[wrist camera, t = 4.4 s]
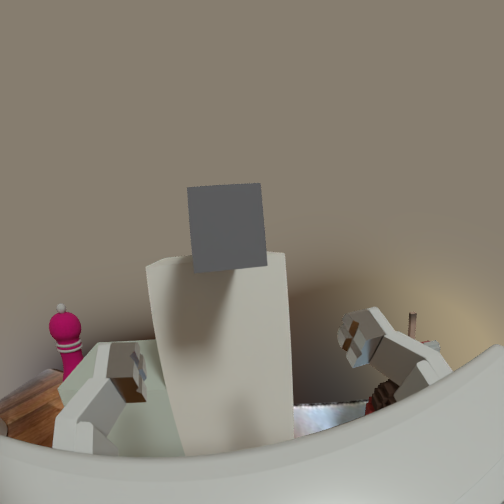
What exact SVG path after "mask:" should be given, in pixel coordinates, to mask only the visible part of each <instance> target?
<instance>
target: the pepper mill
mask: <svg viewBox="0 0 504 504" xmlns="http://www.w3.org/2000/svg"><path fill="white" fill-rule="evenodd" d="M65 311H66V307H65V305H64V304H62V303H60V304H58V305H57V312H58V313H57V314H55V315H54V316H53V317H52V318H51V320H50V323H49V330H50V334H51V335H52V337H53V338H54V339H55V340H56V341H57V342H56V346H57V350H58V351H59V352H60V354H61V357H62V360H63V366H64V374H63V382H64V381H65V379H66V378H67V377H68V376H69V375H70V374H71V372H72V371H73V370H74V369H75V368H76V367H77V365H78V364H79V363H80V362H81V361H82V360H83V359H84V358H83V356H82V351H81V348H82V343H81V339H80V338H79V335H80V333H81V324H80V322H79V319H78V318H77V317H76V316H75V315H74V314H72V313H69V312H65Z"/></svg>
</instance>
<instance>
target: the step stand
mask: <svg viewBox="0 0 504 504" xmlns="http://www.w3.org/2000/svg"><path fill="white" fill-rule="evenodd" d="M266 252H267V251H266ZM267 264H268V266H262V267H253V268H244V269H234V270H224V271H215V272H205V273H195V274H194V267H193V257H192V255H191V256H181V257H170V258H163V259H161V260H159V261H157V262H154V263H153V264H150V265H148V266H146V275H147V283H148V291H149V298H150V305H151V312H152V318H153V324H154V330H155V336H156V340H141V341H123V342H138V344H139V346H140V353H141V354H142V355H143V356H144V359H145V363H146V369H147V378H146V380H145V381H144V383H145V385H146V387H147V402H142V403H126V406H125V408H124V409H123V411H122V413H121V414H120V416H119V418H118V419H117V421H116V423H115V424H114V426H113V428H112V429H111V431H110V433H109V434H108V436H107V439H109V440H110V441H111V442H112V443H113V444H114V445H115V446H116V447H117V448H118V455H119V456H122V457H178V456H193V455H205V454H214V453H222V452H230V451H236V450H243V449H248V448H254V447H259V446H264V445H269V444H274V443H278V442H283V441H287V440H291V439H294V417H293V387H292V362H291V342H290V324H289V306H288V292H287V277H286V264H285V254H284V253H276V252H267ZM100 343H112V342H100ZM100 343H99V342H98V343H97V344H96V345H95V346H94V347H93V349H92V350H91V351H90V352H89V353H88V354H87V355H86V357H85V358H84V359H83V360H82V361H81V362H80V363H79V364H78V365H77V367H76V368H75V369H74V370H73V371H72V372H71V374H70V375H69V376H68V377H67V378H66V379H65V381H64V382H63V383H62V384H61V385H60V386H59V388H58V391H59V394H60V397H61V400H62V402H63V405H64V407H65V406H66V405H67V404H68V402H69V401H70V400H71V399H72V398H73V396H74V395H75V394H76V393H77V392H78V391H79V389H80V388H81V387H82V386H83V385H84V384H85V382H86V381H87V380H88V379H89V378H93V372H94V366H95V360H96V354H97V348H98V345H99V344H100Z"/></svg>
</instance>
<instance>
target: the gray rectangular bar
mask: <svg viewBox="0 0 504 504" xmlns="http://www.w3.org/2000/svg"><path fill="white" fill-rule="evenodd" d="M187 191H188V192H187V193H188V208H189V222H190V233H191V234H190V235H191V246H192V257H193V267H194V274H195V273H205V272H215V271H224V270H234V269H244V268H253V267H262V266H268V264H267V252H266V241H265V230H264V229H265V228H264V217H263V206H262V195H261V185H260V183H253V184H231V185H214V186H200V187H188V188H187Z"/></svg>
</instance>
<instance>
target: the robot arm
mask: <svg viewBox="0 0 504 504" xmlns="http://www.w3.org/2000/svg"><path fill="white" fill-rule="evenodd" d="M342 321H343V324H342V325H341V326H340V327H339V330H338V341H339V344H340V346H341V348H342V349H344V350H345V351H347V354H346V357H347V359H348V360H349V362H350V364H351V366H352V367H353V368H354V367H357V366H361V365H364V364H367V363H369V364H370V365H371V366H372V367H374V368H375V369H376V370H378V371H379V372H381V373H382V374H384V375H385V376H386V377H388V378H389V379H390V380H392V381H393V382H395V383H396V384H398V385H399V386H400V387H399V388H398V389H397V391H396V392H395V393H394V398H395V399H396V401H397V402H396V403H394V404H391V405H389V406H387V407H385V408H382V409H380V410H378V411H375V412H373V413H370V414H368V415H365V416H363V417H360V418H358V419H355V420H352V421H350V422H347V423H344V424H341V425H338V426H335V427H332V428H329V429H326V430H323V431H320V432H316V433H313V434H309V435H306V436H302V437H299V438H295V439H291V440H287V441H283V442H278V443H274V444H269V445H264V446H259V447H254V448H248V449H243V450H236V451H230V452H222V453H214V454H205V455H193V456H178V457H122V456H119V455H118V448H117V447H116V446H115V445H114V444H113V443H112V442H111V441H110V440H109V439H107V436H108V434H109V433H110V431H111V429H112V428H113V426H114V424H115V423H116V421H117V419H118V418H119V416H120V414H121V413H122V411H123V409H124V408H125V406H126V403H142V402H147V387H146V385H145V383H144V381H145V380H146V378H147V369H146V363H145V359H144V356H143V355H142V354H141V353H140V346H139V344H138V342H112V343H100V344H99V345H98V348H97V354H96V360H95V366H94V372H93V378H89V379H88V380H87V381H86V382H85V384H84V385H83V386H82V387H81V388H80V389H79V391H78V392H77V393H76V394H75V395H74V396H73V398H72V399H71V400H70V401H69V402H68V404H67V405H66V406H65V407H64V408H63V410H62V411H61V412H60V413H59V414H58V416H57V417H56V420H55V428H54V436H53V446H52V448H50V447H45V446H41V445H36V444H32V443H28V442H24V441H20V440H17V439H13V438H10V437H6V435H7V426H6V423H5V422H4V421H3V420H2V418H1V417H0V504H504V347H503V346H501V345H498V344H495V345H493V346H491V347H489V348H488V349H487V350H485V351H484V352H482V353H481V354H480V355H479V356H477V357H475V358H474V359H473V360H471V361H469V362H468V363H466V364H465V365H463V366H462V367H460V368H459V369H457V370H455V371H454V372H453V371H452V369H451V368H450V367H449V365H448V364H447V363H446V361H445V360H444V358H443V357H442V356H441V354H440V353H439V352H438V351H436V350H434V349H432V348H430V347H428V346H426V345H424V344H422V343H420V342H418V341H416V340H415V339H413V338H411V337H409V336H407V335H405V334H403V333H401V332H399V331H397V332H396V331H395V330H394V329H393V327H392V326H391V325H390V323H389V322H388V321H387V319H386V318H385V317H384V315H383V314H382V313H381V312H380V310H379V309H378V308H377V307H372V308H368V309H363V310H359V311H354V312H351V313H346V314H345V315H344V316H343V318H342Z"/></svg>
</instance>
